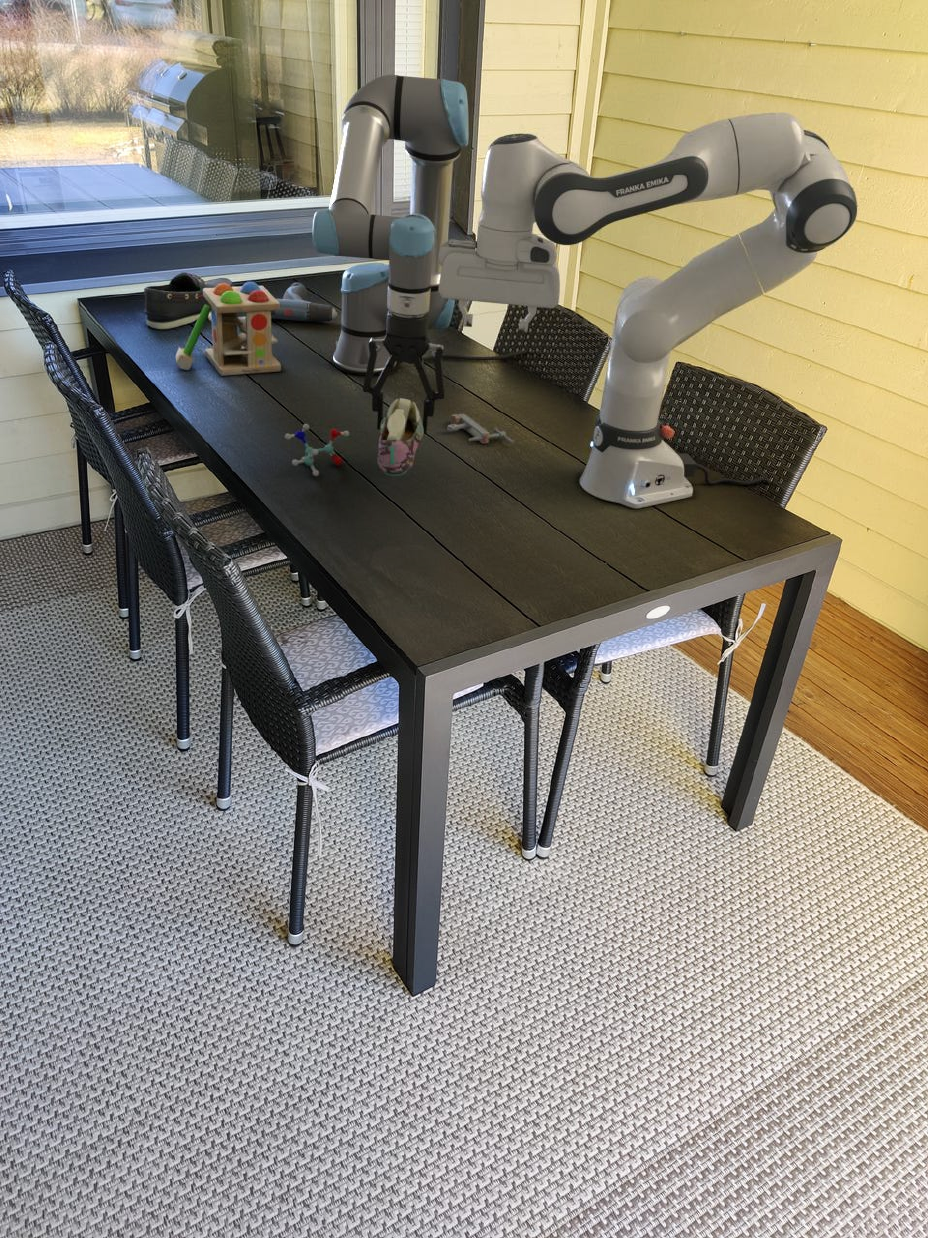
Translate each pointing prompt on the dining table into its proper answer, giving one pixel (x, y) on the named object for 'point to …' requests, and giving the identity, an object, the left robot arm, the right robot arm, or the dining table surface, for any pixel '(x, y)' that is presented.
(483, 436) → the clamp
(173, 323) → the boat shoe
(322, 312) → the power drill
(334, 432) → the molecular model
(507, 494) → the dining table surface
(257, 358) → the pounding bench toy
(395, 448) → the ballet flat
